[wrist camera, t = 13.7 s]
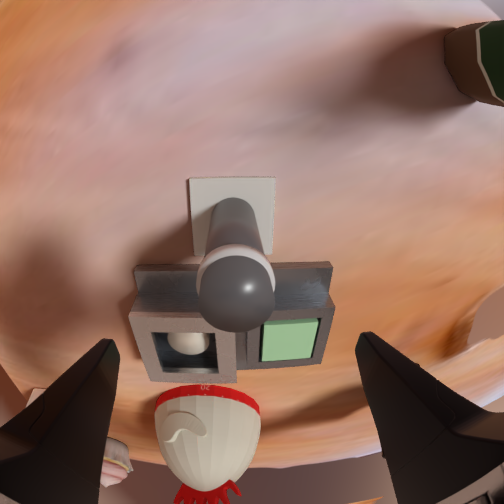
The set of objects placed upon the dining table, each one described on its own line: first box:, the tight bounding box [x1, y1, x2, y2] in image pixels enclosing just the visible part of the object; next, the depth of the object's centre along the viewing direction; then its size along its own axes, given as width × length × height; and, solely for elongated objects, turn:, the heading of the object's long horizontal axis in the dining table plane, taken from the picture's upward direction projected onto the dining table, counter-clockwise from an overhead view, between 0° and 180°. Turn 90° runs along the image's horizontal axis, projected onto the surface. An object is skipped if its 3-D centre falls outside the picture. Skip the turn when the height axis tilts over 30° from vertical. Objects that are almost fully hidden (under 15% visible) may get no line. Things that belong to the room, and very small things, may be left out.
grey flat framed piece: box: [128, 262, 335, 383], centre depth 24 cm, size 12×16×4 cm
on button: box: [260, 318, 318, 361], centre depth 24 cm, size 4×4×2 cm
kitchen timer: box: [155, 385, 261, 504], centre depth 26 cm, size 14×14×15 cm
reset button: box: [167, 333, 210, 355], centre depth 24 cm, size 4×4×1 cm
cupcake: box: [100, 437, 133, 487], centre depth 34 cm, size 9×9×10 cm
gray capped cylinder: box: [196, 197, 275, 333], centre depth 16 cm, size 4×4×10 cm
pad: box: [189, 177, 276, 256], centre depth 21 cm, size 6×6×1 cm
